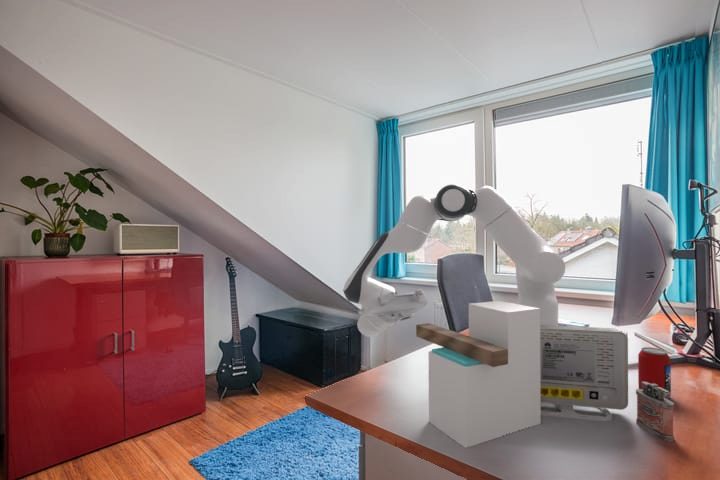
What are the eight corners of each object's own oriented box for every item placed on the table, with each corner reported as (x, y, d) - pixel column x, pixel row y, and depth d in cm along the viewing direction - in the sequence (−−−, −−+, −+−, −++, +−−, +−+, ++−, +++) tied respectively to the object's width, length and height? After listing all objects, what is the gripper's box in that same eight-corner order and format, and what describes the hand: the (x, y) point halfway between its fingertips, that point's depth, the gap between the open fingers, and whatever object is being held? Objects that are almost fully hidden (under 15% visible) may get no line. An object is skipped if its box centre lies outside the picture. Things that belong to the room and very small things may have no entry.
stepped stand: (428, 421, 84) (428, 307, 84) (499, 402, 94) (498, 300, 94) (465, 448, 73) (464, 317, 73) (540, 423, 83) (540, 308, 83)
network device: (616, 406, 91) (616, 326, 91) (634, 423, 83) (633, 335, 83) (507, 397, 97) (506, 321, 97) (512, 412, 88) (512, 329, 89)
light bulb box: (590, 352, 135) (590, 323, 135) (583, 356, 131) (583, 326, 131) (559, 346, 144) (559, 318, 144) (552, 349, 139) (552, 321, 139)
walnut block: (416, 336, 95) (416, 324, 95) (428, 334, 97) (428, 323, 97) (493, 367, 72) (493, 351, 72) (508, 364, 74) (507, 349, 74)
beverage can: (677, 401, 94) (676, 354, 94) (647, 399, 95) (646, 353, 95) (661, 391, 101) (660, 347, 101) (633, 389, 102) (633, 346, 102)
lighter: (631, 422, 84) (631, 378, 84) (645, 421, 84) (645, 377, 84) (664, 441, 76) (663, 392, 76) (679, 440, 76) (679, 392, 76)
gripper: (353, 304, 111) (371, 285, 100) (410, 298, 120) (432, 280, 109) (358, 324, 108) (377, 307, 97) (416, 317, 117) (439, 300, 106)
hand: (406, 293), depth 103 cm, fingers open, 8 cm apart
